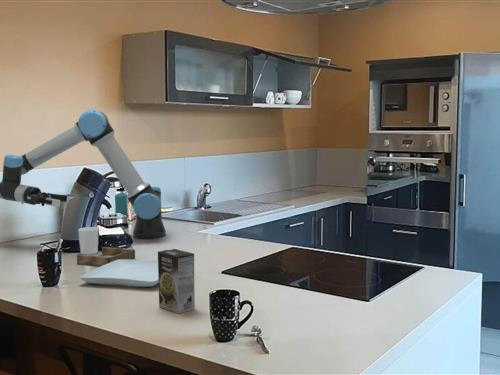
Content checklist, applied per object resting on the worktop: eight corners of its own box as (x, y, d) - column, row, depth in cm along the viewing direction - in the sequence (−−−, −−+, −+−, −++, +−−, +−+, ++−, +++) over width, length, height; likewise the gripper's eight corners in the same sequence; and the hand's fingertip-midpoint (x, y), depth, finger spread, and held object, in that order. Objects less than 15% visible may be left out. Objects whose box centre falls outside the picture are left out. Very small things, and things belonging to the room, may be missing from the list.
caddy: (77, 264, 223) (76, 255, 223) (103, 255, 238) (103, 246, 238) (109, 267, 217) (109, 258, 217) (135, 258, 232) (134, 249, 232)
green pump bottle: (126, 226, 308) (125, 187, 306) (114, 226, 308) (112, 187, 306) (129, 224, 314) (128, 186, 312) (117, 224, 315) (115, 186, 312)
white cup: (102, 251, 247) (101, 227, 246) (95, 255, 239) (94, 230, 238) (83, 250, 248) (82, 227, 246) (76, 255, 240) (75, 230, 239)
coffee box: (158, 307, 169) (156, 251, 168) (176, 302, 174) (174, 248, 172) (177, 314, 163) (176, 256, 161) (196, 309, 167) (194, 252, 166)
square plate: (187, 271, 212) (187, 261, 211) (154, 292, 186) (154, 280, 185) (118, 267, 219) (118, 257, 219) (78, 287, 193) (77, 275, 192)
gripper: (47, 201, 265) (87, 209, 258) (6, 205, 241) (49, 213, 234) (49, 185, 264) (89, 192, 257) (8, 187, 241) (50, 195, 234)
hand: (70, 202), depth 246 cm, fingers open, 13 cm apart
